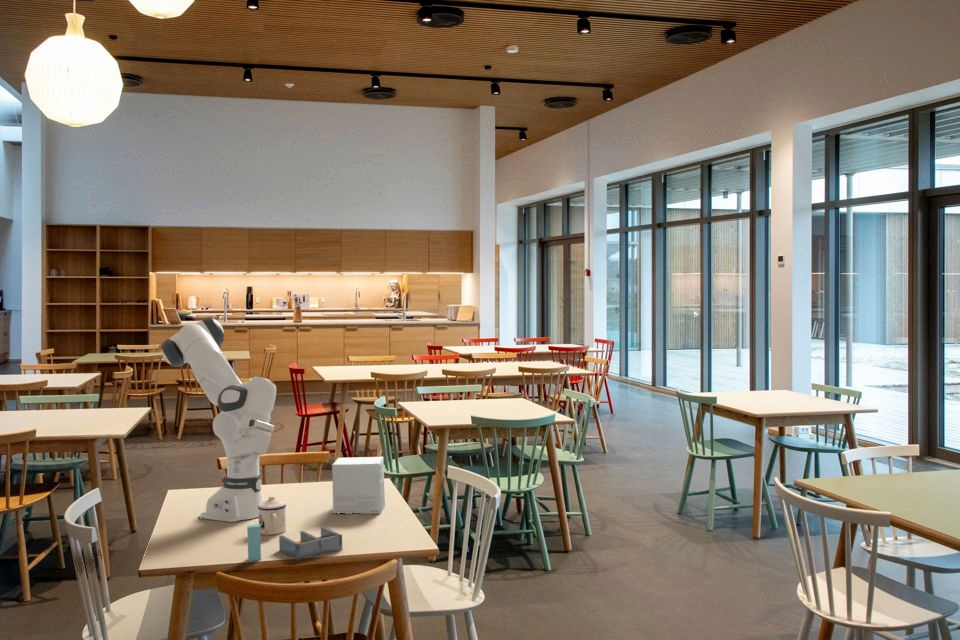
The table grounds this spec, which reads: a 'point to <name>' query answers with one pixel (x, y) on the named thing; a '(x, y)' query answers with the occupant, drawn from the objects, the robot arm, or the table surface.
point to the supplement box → (358, 485)
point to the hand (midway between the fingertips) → (242, 471)
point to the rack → (311, 544)
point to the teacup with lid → (272, 516)
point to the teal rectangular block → (254, 542)
